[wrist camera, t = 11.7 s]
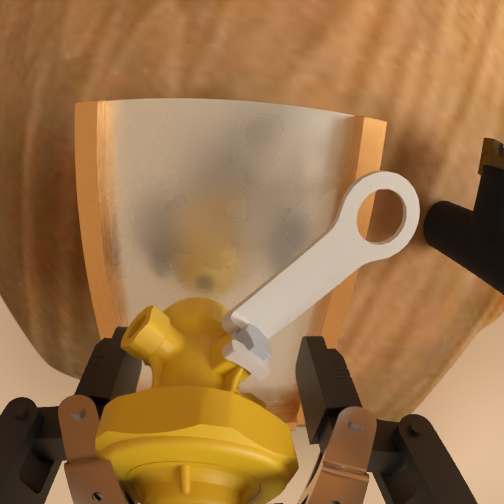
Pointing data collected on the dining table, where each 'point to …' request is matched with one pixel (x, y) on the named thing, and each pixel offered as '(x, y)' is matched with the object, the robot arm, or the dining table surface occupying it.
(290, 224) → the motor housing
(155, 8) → the dining table surface
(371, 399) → the dining table surface
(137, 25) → the dining table surface
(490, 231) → the pipe connector
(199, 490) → the pressure relief valve
